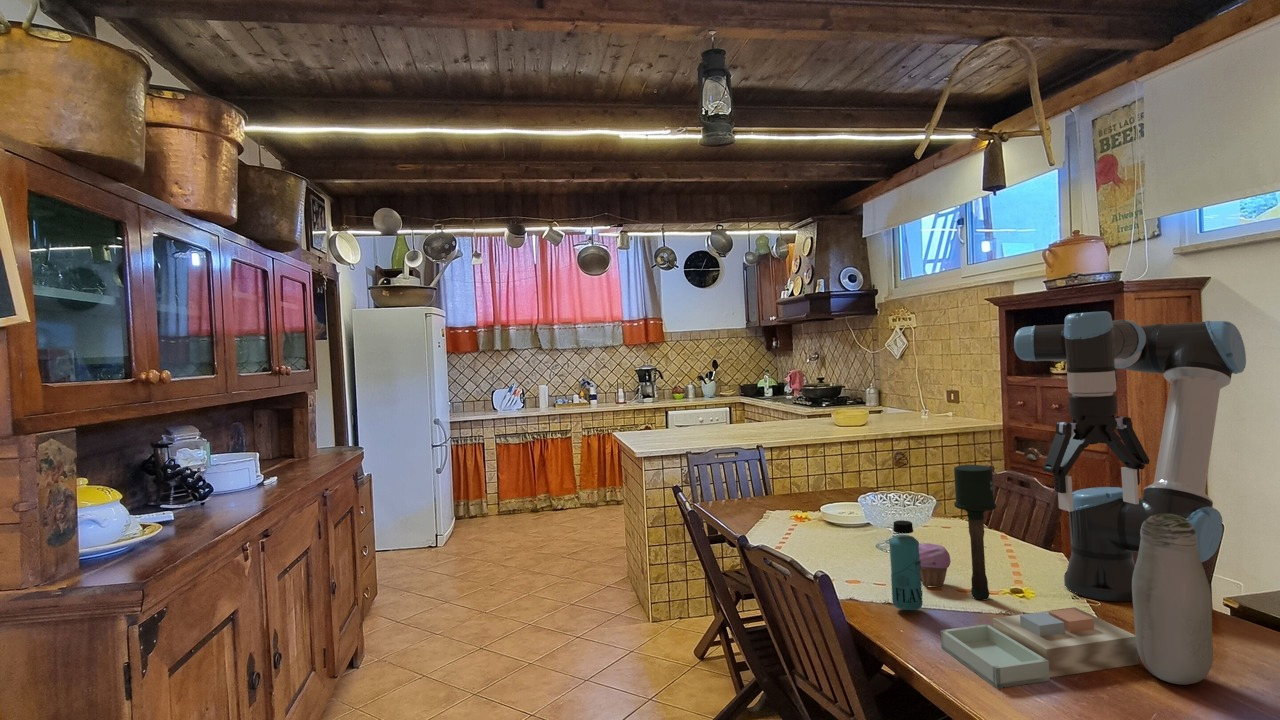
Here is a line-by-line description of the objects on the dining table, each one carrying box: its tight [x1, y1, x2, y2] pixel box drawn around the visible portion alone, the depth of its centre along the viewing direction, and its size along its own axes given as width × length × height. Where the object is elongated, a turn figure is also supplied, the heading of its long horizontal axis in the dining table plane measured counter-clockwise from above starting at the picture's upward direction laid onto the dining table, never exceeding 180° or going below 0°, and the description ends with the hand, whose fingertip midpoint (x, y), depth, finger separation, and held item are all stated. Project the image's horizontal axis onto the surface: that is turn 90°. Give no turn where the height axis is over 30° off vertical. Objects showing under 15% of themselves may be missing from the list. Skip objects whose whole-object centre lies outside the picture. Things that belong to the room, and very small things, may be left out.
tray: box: [940, 623, 1051, 689], centre depth 122 cm, size 10×16×4 cm, turn 8°
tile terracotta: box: [1048, 607, 1094, 633], centre depth 124 cm, size 5×5×2 cm
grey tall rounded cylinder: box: [1132, 514, 1214, 686], centre depth 112 cm, size 10×10×28 cm
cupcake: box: [919, 542, 952, 587], centre depth 162 cm, size 9×9×10 cm
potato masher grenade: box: [953, 464, 997, 600], centre depth 152 cm, size 8×9×30 cm
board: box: [992, 606, 1140, 678], centre depth 124 cm, size 18×14×5 cm
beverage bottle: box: [888, 520, 924, 611], centre depth 147 cm, size 6×7×20 cm
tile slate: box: [1019, 611, 1065, 637], centre depth 123 cm, size 5×5×2 cm
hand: (1098, 506), depth 125 cm, fingers open, 13 cm apart
